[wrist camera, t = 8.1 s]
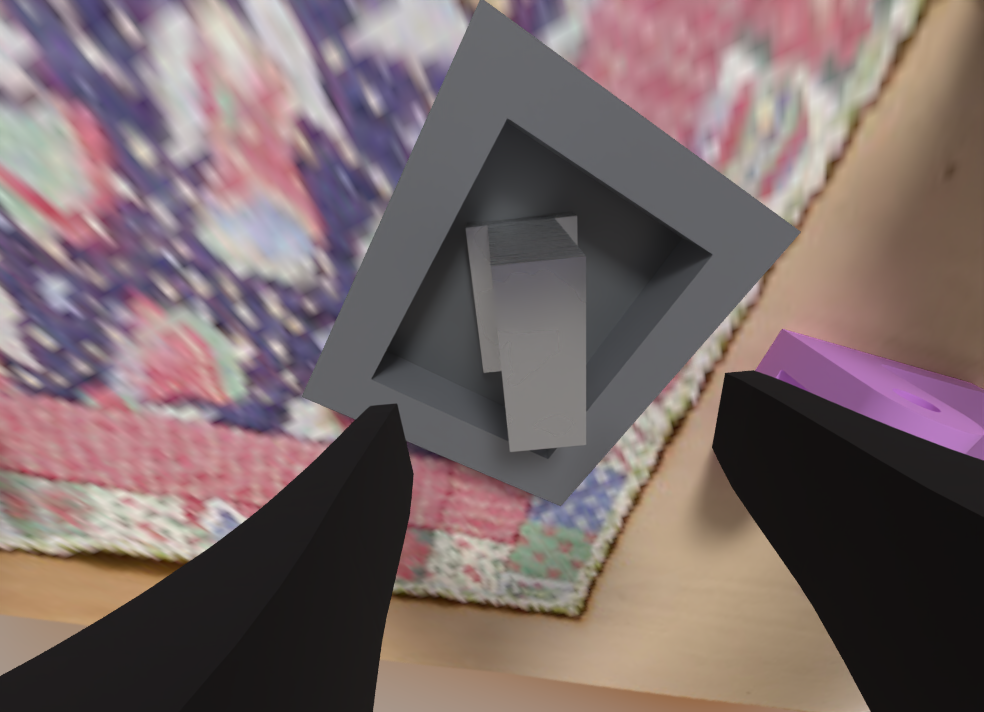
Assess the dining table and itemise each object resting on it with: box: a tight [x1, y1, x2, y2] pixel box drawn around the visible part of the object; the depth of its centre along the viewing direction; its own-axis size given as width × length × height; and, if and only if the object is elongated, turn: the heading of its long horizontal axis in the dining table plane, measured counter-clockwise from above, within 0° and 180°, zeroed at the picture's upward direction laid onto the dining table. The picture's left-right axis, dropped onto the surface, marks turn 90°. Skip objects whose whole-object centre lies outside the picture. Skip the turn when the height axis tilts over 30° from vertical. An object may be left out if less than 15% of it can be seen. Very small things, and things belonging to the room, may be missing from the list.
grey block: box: [466, 212, 586, 452], centre depth 15 cm, size 4×6×6 cm, turn 6°
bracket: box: [755, 329, 984, 460], centre depth 19 cm, size 13×6×7 cm, turn 74°
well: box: [302, 0, 801, 506], centre depth 17 cm, size 12×14×3 cm
